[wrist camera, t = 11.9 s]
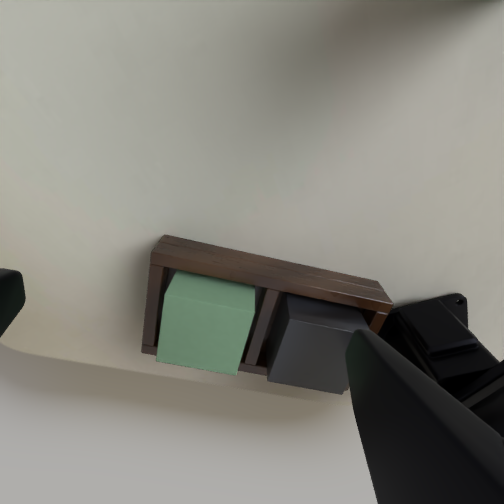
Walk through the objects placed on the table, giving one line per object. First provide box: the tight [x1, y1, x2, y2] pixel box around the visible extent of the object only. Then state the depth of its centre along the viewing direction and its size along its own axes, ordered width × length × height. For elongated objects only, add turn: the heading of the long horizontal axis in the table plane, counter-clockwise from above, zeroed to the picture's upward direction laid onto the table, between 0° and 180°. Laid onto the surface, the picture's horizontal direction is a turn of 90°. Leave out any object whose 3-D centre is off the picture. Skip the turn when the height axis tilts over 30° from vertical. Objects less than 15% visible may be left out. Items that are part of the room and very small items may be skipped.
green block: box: [156, 269, 255, 375], centre depth 19 cm, size 5×5×3 cm
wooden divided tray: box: [141, 235, 393, 395], centre depth 19 cm, size 15×8×4 cm, turn 77°
